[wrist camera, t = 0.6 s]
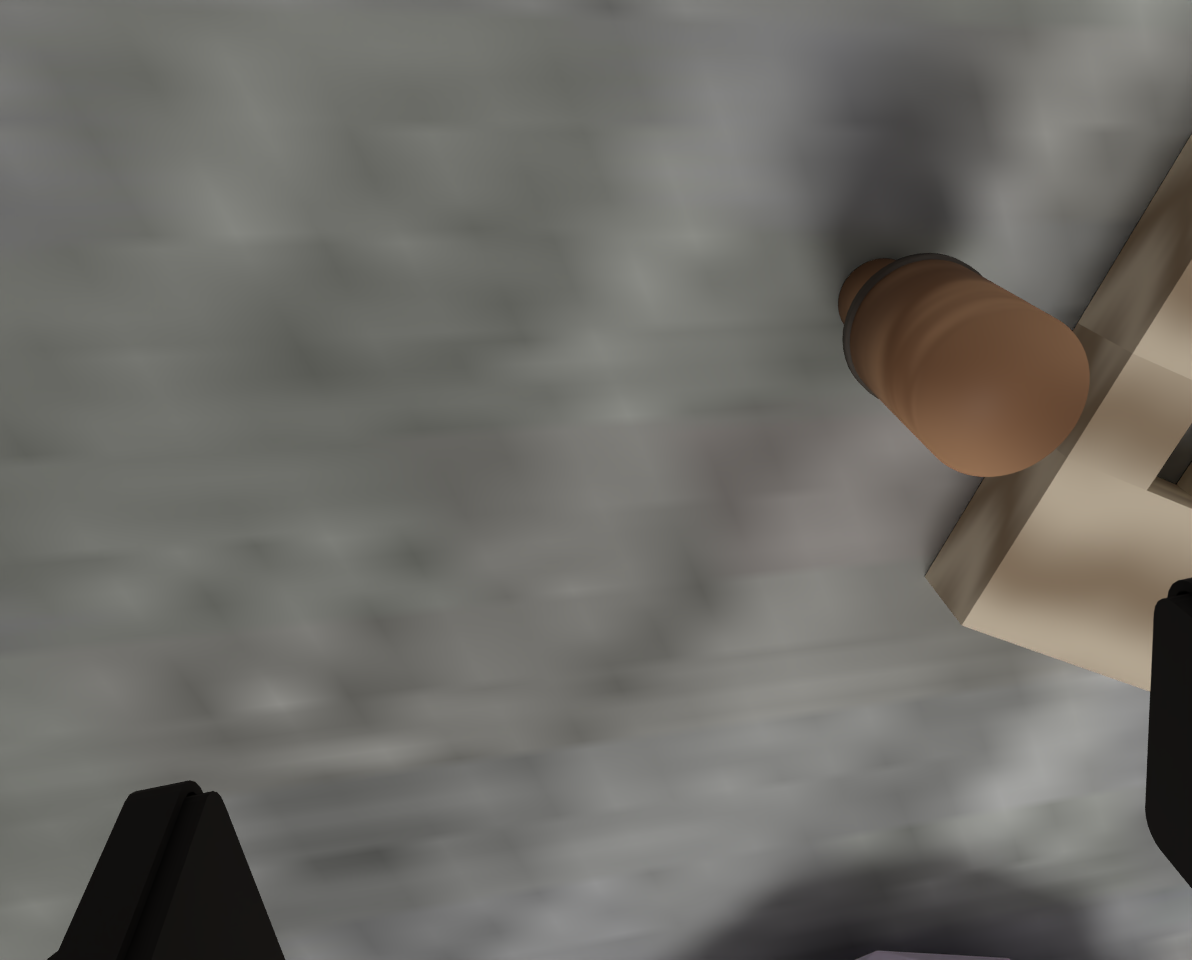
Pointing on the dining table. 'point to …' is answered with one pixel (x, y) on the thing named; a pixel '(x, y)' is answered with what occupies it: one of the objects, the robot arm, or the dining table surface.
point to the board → (1097, 476)
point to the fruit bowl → (920, 956)
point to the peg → (963, 362)
